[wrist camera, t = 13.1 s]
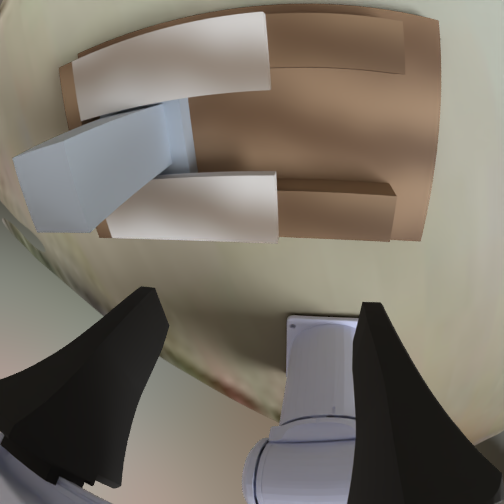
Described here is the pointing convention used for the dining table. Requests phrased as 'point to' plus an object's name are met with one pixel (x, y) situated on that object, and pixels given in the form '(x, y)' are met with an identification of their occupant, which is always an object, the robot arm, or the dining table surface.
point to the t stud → (104, 164)
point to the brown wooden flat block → (278, 121)
